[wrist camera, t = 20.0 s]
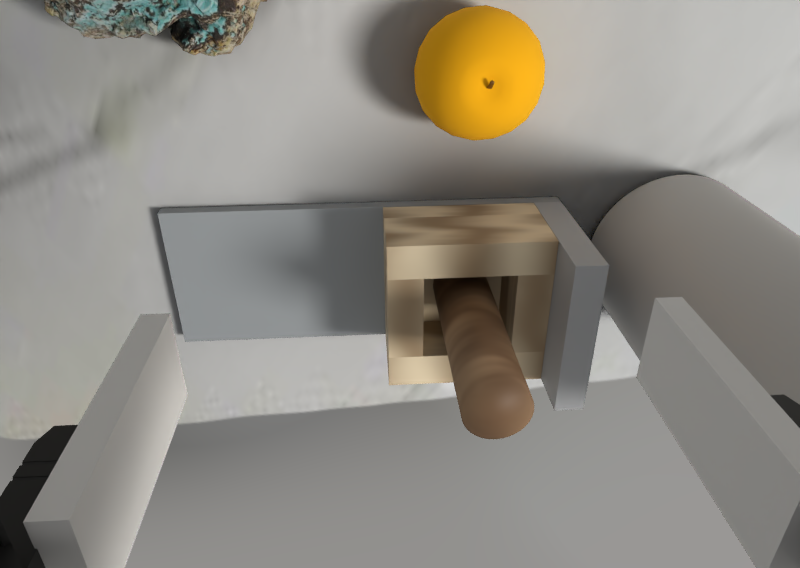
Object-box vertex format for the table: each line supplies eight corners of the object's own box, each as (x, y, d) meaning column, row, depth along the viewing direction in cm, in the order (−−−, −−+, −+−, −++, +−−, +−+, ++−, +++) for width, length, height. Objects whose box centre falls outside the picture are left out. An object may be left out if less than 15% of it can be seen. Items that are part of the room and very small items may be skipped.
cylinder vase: (570, 203, 47) (756, 439, 25) (737, 147, 45) (1089, 346, 23) (598, 332, 53) (768, 613, 31) (747, 286, 51) (1034, 547, 29)
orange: (405, 120, 43) (413, 154, 36) (415, -5, 39) (427, 7, 32) (518, 127, 44) (547, 162, 37) (539, 5, 40) (575, 19, 33)
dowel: (432, 308, 47) (459, 440, 35) (433, 261, 45) (463, 383, 33) (484, 306, 47) (530, 437, 35) (488, 259, 45) (538, 381, 33)
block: (385, 334, 50) (389, 385, 44) (382, 207, 45) (386, 246, 39) (520, 328, 51) (540, 378, 45) (533, 202, 45) (558, 241, 40)
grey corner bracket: (187, 334, 50) (148, 428, 41) (161, 208, 45) (108, 282, 35) (541, 320, 52) (583, 408, 42) (557, 196, 46) (609, 265, 37)
